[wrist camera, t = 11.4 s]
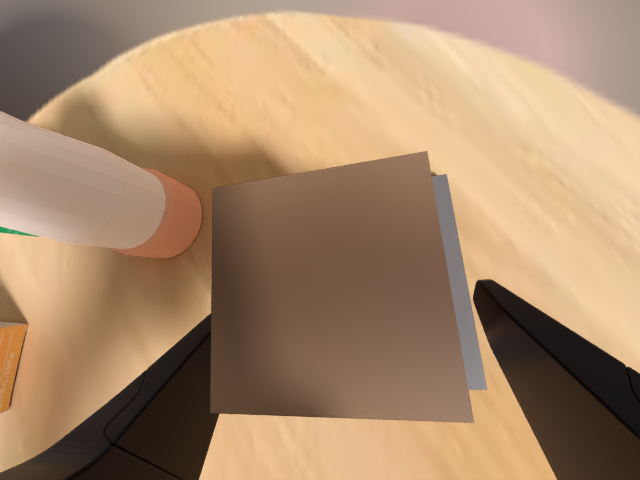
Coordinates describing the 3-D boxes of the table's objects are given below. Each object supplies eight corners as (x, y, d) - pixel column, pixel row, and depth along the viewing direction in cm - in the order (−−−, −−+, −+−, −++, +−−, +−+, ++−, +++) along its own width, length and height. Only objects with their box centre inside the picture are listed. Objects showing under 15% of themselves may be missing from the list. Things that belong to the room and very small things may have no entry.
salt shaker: (151, 273, 22) (-1067, 232, 3) (128, 210, 24) (-739, -42, 5) (214, 231, 21) (-879, -112, 3) (186, 169, 23) (-580, -289, 4)
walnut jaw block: (394, 312, 16) (474, 423, 4) (329, 315, 17) (210, 413, 4) (386, 247, 17) (426, 151, 4) (324, 253, 18) (212, 188, 5)
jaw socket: (481, 384, 15) (510, 411, 12) (274, 382, 18) (253, 405, 15) (443, 178, 18) (458, 156, 14) (268, 205, 20) (248, 191, 17)
